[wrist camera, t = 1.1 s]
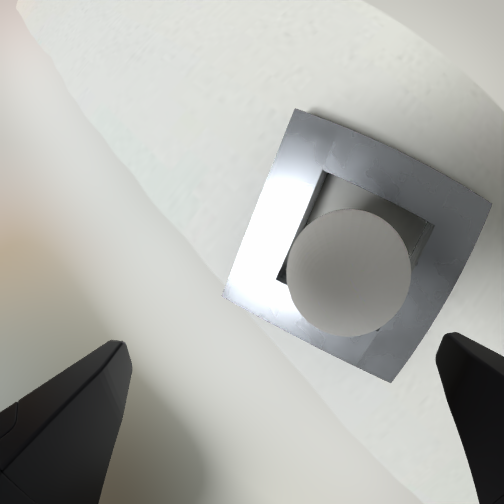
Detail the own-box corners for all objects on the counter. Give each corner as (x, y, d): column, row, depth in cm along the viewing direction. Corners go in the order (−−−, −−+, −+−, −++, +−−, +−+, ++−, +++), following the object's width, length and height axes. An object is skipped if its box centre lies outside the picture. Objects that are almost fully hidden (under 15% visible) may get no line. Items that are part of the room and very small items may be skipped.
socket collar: (479, 202, 17) (492, 203, 14) (390, 365, 21) (390, 383, 19) (303, 116, 20) (294, 108, 18) (235, 286, 24) (221, 296, 22)
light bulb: (348, 185, 20) (332, 180, 11) (414, 241, 19) (450, 285, 10) (297, 251, 22) (241, 296, 13) (359, 304, 21) (346, 384, 12)
